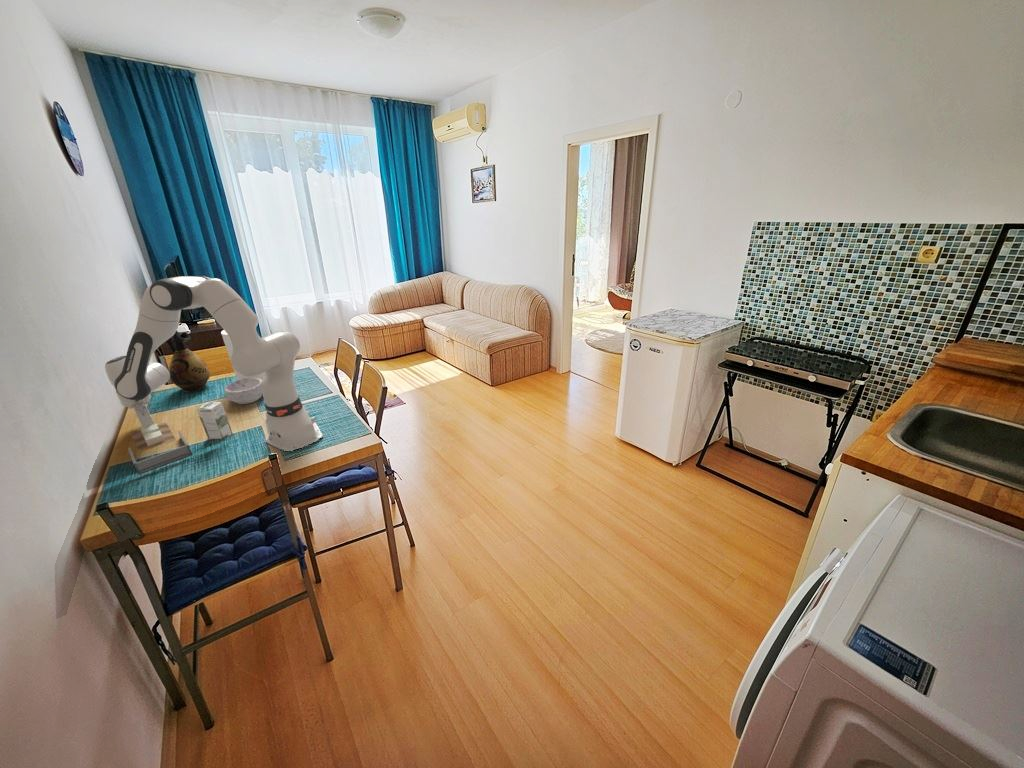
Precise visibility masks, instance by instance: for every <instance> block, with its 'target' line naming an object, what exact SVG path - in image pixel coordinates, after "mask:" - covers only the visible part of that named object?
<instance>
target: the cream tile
mask: <svg viewBox="0 0 1024 768" xmlns="http://www.w3.org/2000/svg"><path fill="white" fill-rule="evenodd" d="M144 438H145V441H146V443H147V445H148V446H150V445H153V444H156V443H159V442H162V441H165V440H164V438H163V435H162V434H161V432H160V431H157V432H153V433H150V434H147V435H144Z"/></svg>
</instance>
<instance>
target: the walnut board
mask: <svg viewBox="0 0 1024 768" xmlns="http://www.w3.org/2000/svg"><path fill="white" fill-rule="evenodd" d="M157 426H158V428H159V430H160V432H161V434H162V435H163V438H164V440H165V441H162V442H159V443H156V444H153V445H150V446H148V445H147V443H146V441H145V438H144V436H143V434H142V432H141V429H139V430H137V431H132V432H131V433H130V434H131V436H132V439H133V441H134V444H135V447H136V448H137V451H138V453H141V452H144V451H147V450H149V449H153V448H156V447H158V446H161V445H165V444H168V443H171V442H173V441H176V440H177V439H176V437H175V435H174V434H173V432H172V431H171V429H170V427H169V425H168V423H167V422H163V423H162V422H161V423H159V424H157Z"/></svg>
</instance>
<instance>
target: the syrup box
mask: <svg viewBox="0 0 1024 768" xmlns="http://www.w3.org/2000/svg"><path fill="white" fill-rule="evenodd" d="M196 411H197V414H198V415H199V416H198V417H199V419H200V421H201V425H202V427H203V429H204V432H205V434H206V437H207V439H209V440H211V439H212V440H213V439H214V440H216V439H218V440H219V439H221V440H222V439H223V438H225V437H226V436H228V437H231V435H233V431H232V428H231V425H230V423H229V420H228V416H227V414H226V411H225V408H224V406H223V403H222V402H219V401H207V402H206V403H204V404H203V405H201V406H200V407H198V408H197V409H196Z"/></svg>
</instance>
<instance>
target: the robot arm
mask: <svg viewBox="0 0 1024 768" xmlns="http://www.w3.org/2000/svg"><path fill="white" fill-rule="evenodd" d="M141 298H142V299H141V301H140V306H139V311H138V318H137V321H136V326H135V329H134V331H133V333H132V336H131V339H130V342H129V344H128V347H127V352H126V354H125V355H122V356H117V357H114V358H112V359H110V360H109V361H107V362H106V363H105V365H104V369H105V373H106V375H107V378H108V380H109V382H110V385H112V386H113V387H114V389H115V394H116V396H117V398H118V400H119V403H120V405H121V406H123V407H127V408H128V409H133V411H134V413H135V415H136V417H137V420H138V421H139V423H140V425H141V427H142V428H145V427H148V426H151V425H155V422H154V420H153V417H152V415H151V413H150V411H149V409H148V407H147V404H149V403H150V402H149V400H151V398H152V395H151V394H152V393H153V392H155V391H156V390H158V389H160V388H161V387H162V386H164V385H165V384H166V383H168V382H169V381H170V380H171V379H170V372H169V368H168V367H167V366H165V365H164V364H163V363H160V362H157V361H151V358H152V356H153V354H154V353H155V351H156V350H157V349H159V348H160V346H161V345H163V344H165V343H166V342H167V340H168V339H169V338H173V337H174V336H173V335H174V334H175V332H176V330H177V331H178V328H179V326H180V319H181V315H182V313H181V312H182V310H195V309H198V308H201V307H203V308H204V309H206V311H207V312H208V313H209V314H210V315H211V316H212V318H214V320H215V321H216V322H217V323H218V325H220V326H221V328H222V329H223V330H225V332H226V333H227V334H228V336H229V337H230V339H231V342H232V345H233V353H232V356H231V360H230V363H231V362H232V363H231V366H232V365H233V366H232V368H233V367H234V369H235V370H236V371H237V372H238V373H240V374H242V375H244V376H254V375H258V374H262V373H264V372H265V375H264V378H263V379H262V381H261V384H260V388H261V391H262V397H263V400H264V408H265V411H266V414H267V416H266V418H265V420H264V424H265V428H266V431H267V433H268V434H267V435H268V436H266V437H265V443H266V444H268V445H271V446H273V447H275V448H277V449H279V450H281V449H282V450H281V451H283V450H284V451H283V452H285V451H291V450H295V449H298V448H301V447H304V446H306V445H308V444H310V443H313V442H314V441H316V440H318V439H319V438H321V437H322V436H323V437H324V434H323V433H322V431H321V429H320V428H319V426H318V424H317V421H316V418H315V416H312V417H310V416H311V412H310V411H307V409H306V406H304V405H303V402H302V399H301V398H300V395H298V392H297V388H296V384H295V379H294V372H295V371H294V370H295V369H294V368H295V361H296V359H297V355H298V353H299V352H300V350H301V344H300V341H299V339H298V337H296V335H295V334H293V333H292V332H290V331H278V332H273V333H270V334H268V335H265V336H263V337H261V336H260V335H259V333H258V331H257V326H258V325H259V317H258V315H257V314H256V313H255V312H254V311H253V309H252V308H251V307H250V306H249V305H248V303H247V302H245V300H244V299H243V298H242V297H241V296H240V295H239V294H238V292H236V291H235V289H233V288H232V287H231V286H230V285H228V284H227V282H225V281H224V280H222V279H220V278H215V277H213V278H211V277H208V276H205V275H196V276H194V275H189V276H185V275H184V276H183V275H180V276H174V277H167V278H160V279H158V280H156V281H154V282H153V283H151V284H150V285H149V286H147V288H145V290H144V293H143V295H142V297H141ZM234 369H233V370H234ZM316 438H317V439H316Z"/></svg>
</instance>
